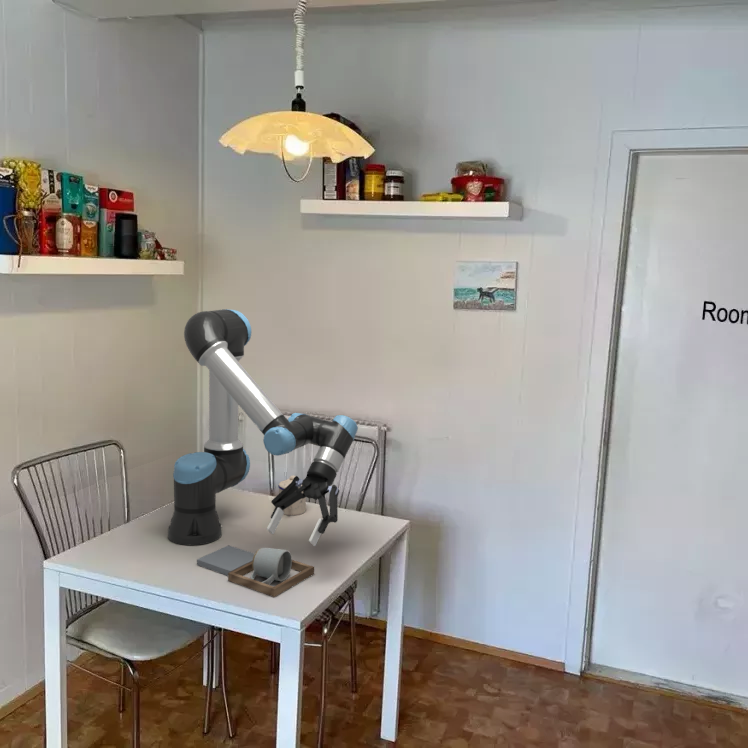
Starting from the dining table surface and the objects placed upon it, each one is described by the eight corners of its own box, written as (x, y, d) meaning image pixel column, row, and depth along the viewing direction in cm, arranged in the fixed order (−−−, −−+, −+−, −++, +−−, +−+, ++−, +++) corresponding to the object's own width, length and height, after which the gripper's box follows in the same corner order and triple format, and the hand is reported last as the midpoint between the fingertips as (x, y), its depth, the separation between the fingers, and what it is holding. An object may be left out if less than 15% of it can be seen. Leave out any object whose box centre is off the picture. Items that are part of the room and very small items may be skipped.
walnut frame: (228, 580, 183) (228, 573, 182) (269, 559, 196) (269, 552, 196) (274, 597, 175) (274, 589, 175) (314, 574, 188) (314, 566, 188)
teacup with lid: (280, 505, 239) (281, 471, 237) (308, 507, 238) (309, 472, 236) (273, 518, 227) (273, 482, 225) (302, 520, 226) (302, 484, 224)
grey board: (196, 564, 191) (196, 559, 191) (228, 550, 201) (228, 545, 201) (230, 576, 185) (230, 571, 185) (261, 561, 195) (261, 555, 195)
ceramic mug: (265, 568, 191) (265, 540, 190) (292, 574, 188) (292, 546, 186) (242, 584, 181) (242, 556, 180) (271, 591, 178) (271, 562, 177)
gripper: (368, 482, 194) (336, 555, 184) (294, 466, 207) (259, 533, 197) (358, 468, 189) (324, 542, 178) (282, 452, 201) (246, 520, 191)
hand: (290, 537), depth 187 cm, fingers open, 13 cm apart
